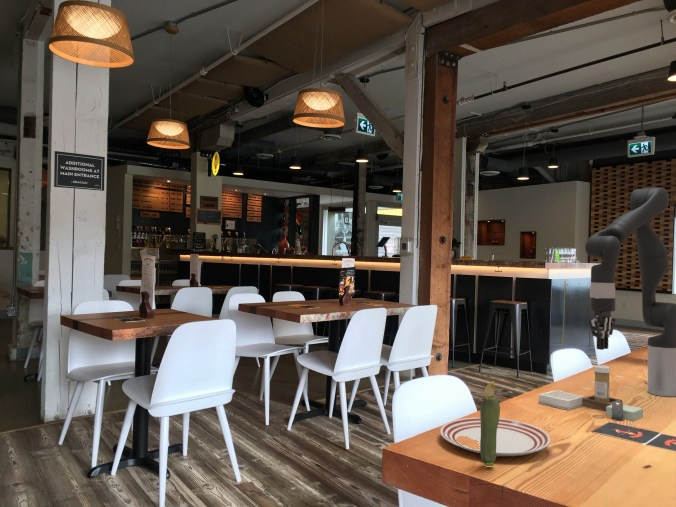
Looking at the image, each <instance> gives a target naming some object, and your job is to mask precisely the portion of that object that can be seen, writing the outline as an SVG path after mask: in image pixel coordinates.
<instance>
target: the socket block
mask: <svg viewBox="0 0 676 507" xmlns="http://www.w3.org/2000/svg"><path fill="white" fill-rule="evenodd" d="M613 401H618V402H622V403H623V399H619V398H614V397H609V403H604V402H600V401H595V394H593V395H592V394H591V395H589V396H585V398H582V406H581V407H585V408H589V409H593V410H596V411H597V410H598V411H602V412H606V407H607V406H609V405H612V402H613Z"/></svg>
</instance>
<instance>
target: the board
mask: <svg viewBox="0 0 676 507" xmlns="http://www.w3.org/2000/svg"><path fill="white" fill-rule="evenodd" d="M605 412H606V413H605V415H606V416H609V417H612V405H609V406H607V407H606V411H605ZM643 417H644V408H642V407H638V406H632V405H628V404H624V403H623V420H627V421H630V422H635V421H637V420H639V419H641V418H643Z"/></svg>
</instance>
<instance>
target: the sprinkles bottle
mask: <svg viewBox="0 0 676 507" xmlns="http://www.w3.org/2000/svg"><path fill="white" fill-rule="evenodd" d="M610 369H611V367H610V366H608V365H603V364H597V365H594V369H593V370H594V395H595V401H600V402H604V403H609V397H610V395H611V394H610V391H611V390H610V373H611V372H610V371H611V370H610ZM610 398H611V397H610Z"/></svg>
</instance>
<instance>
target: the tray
mask: <svg viewBox="0 0 676 507" xmlns="http://www.w3.org/2000/svg"><path fill="white" fill-rule="evenodd" d="M585 397H586V396H585V395H579V394H576V393H571V392H567V391H561V390H557V389H555V390H551V391H547V392H542V393H540V394H538V404H539V405H544V406H548V407H551V408H556V409H561V410H563V411H564V410H565V411H572V410H574V409H578V408H580V407H583V406H582V398H585Z"/></svg>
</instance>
